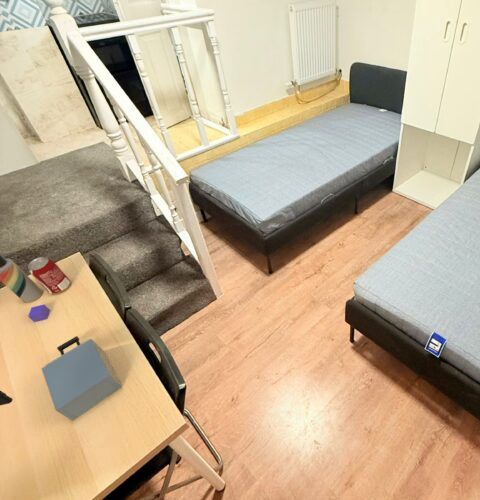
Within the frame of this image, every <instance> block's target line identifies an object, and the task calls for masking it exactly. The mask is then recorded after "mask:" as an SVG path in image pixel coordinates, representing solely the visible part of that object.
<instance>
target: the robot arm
mask: <svg viewBox="0 0 480 500" xmlns="http://www.w3.org/2000/svg"><path fill="white" fill-rule="evenodd" d="M13 400H14V399H13V398H12V397H10V396H9V395H7V393H5V392H3V391H2V390H0V406H3V405H4V406H5V405H8V404H11V403H12V402H13Z"/></svg>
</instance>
